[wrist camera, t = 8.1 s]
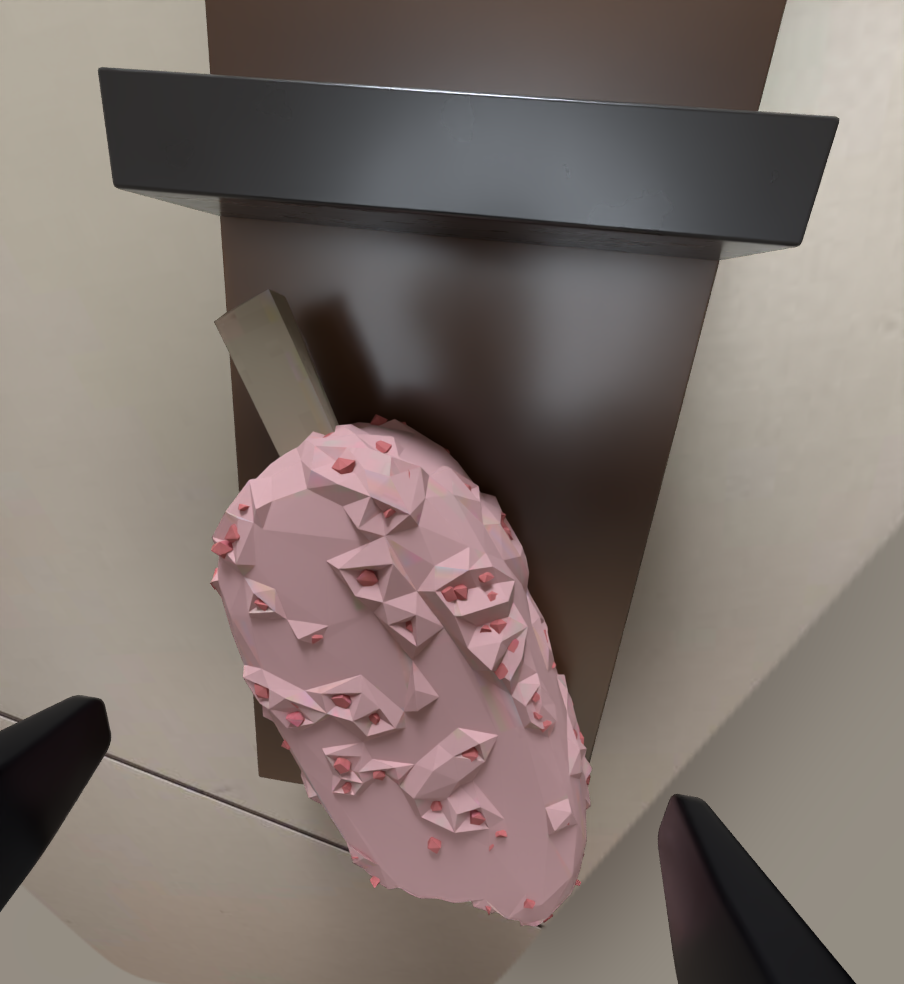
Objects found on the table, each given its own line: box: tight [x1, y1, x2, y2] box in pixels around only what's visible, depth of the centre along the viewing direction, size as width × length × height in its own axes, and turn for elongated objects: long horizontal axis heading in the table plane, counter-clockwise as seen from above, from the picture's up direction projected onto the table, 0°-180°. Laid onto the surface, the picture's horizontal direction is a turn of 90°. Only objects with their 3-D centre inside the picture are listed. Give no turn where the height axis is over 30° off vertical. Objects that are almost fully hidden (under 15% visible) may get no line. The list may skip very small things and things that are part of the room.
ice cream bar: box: [210, 289, 592, 926], centre depth 11 cm, size 6×4×15 cm
